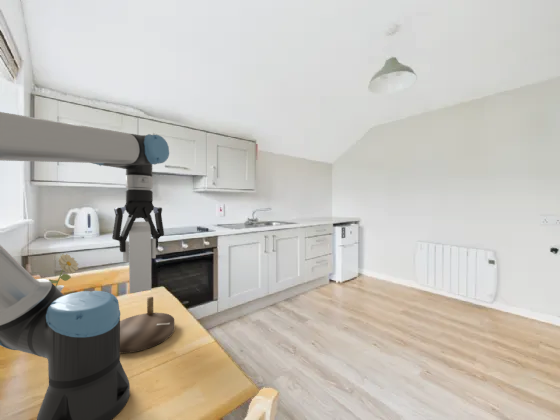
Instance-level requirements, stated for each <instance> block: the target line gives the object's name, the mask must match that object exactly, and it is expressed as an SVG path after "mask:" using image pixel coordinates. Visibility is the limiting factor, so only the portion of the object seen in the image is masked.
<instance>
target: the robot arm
mask: <svg viewBox="0 0 560 420" xmlns="http://www.w3.org/2000/svg"><path fill="white" fill-rule="evenodd" d="M169 147H170V146H169V144H168V142H167V140H166V139H165V138H164V137H163V136H161V135H159V134H150V133H148V134H146V135H141V134H135V133H127V132H124V131H118V130H111V129H105V128H98V127H92V126H86V125H82V124H81V125H80V124H75V123H69V122H64V121H63V122H62V121H56V120H50V119H45V118H39V117H32V116H27V115H21V114H15V113H8V112H2V111H0V161H4V162H5V161H7V162H8V161H9V162H10V161H11V162H43V163H44V162H45V163H46V162H49V163H50V162H51V163H80V164H81V163H82V164H83V163H85V164H86V163H89V164H93V165H97V166H100V167H101V166H104V167H110V168H111V167H113V168H117V169H118V168H119V169H123V170H125V188H126V191H125V204H124V206H123V207H122V206H121V207H115V208H114V209H113V210H114V214H115V217H114V222H113V223H114V224H113V229H112V236H111V237H112V240H115V241H118V243H119V252H121V253H122V261H123V263H126V264H129V240H127V239H128V237H129V231H130V230H131V227H132V225H133V223H134V222H136V220H137V219H143V220H144V222H149V224H150V229H151V259H157V257H156V255H157V253H156V252H157V251H156V250H157V248H159V239H160V238H161V237H163V236H165V230H164V225H163V218H162V212H163V208H162V207H160V206H159V207H156V206H154V204H153V201H154V200H153V195H154V193H153V190H152V189H153V165H159V164H164V163H165V162H166V161H167V160H168V158H169V156H170V149H169ZM125 211H126V212H127V214H128V215H127V218H126V221H125V224H124V226H123V218H124V214H125ZM152 212H153V214H154V220H155V224H154V221H153V218H152V215H151V213H152ZM122 226H123V228H122ZM155 226H156V227H155ZM121 230H122V231H121ZM55 286H56V285H55V284H54V283H51V282H50V281H49V279H47V278H34V276H33V275H32V274H31V273H29V271H28V270H27V269H26V268H24V267H23V265H21V264H20V263H19V262H18V260H16V259H15V258H14V257H13V256H12V255H11V253H9V252H8V251H7V250H6V249H5V248H4V247H3V246H2V245H1V244H0V346H1V347H2V348H5V349H8V350H12V351H20V352H23V353H25V354H26V353H28V354H31V355H34V356H37V357H42V358H44V359H46V360H47V365H48V367H47V368H48V370H47V371H48V373H47V374H48V385H47V389H46V391H45V395H44V397H43V400H42V402H41V406H40V408H39V411H38V414H37V417H36V420H113V419H114V418H115V417H116V416H117V415H118V414H120V412H121V411H122V410H123V409H124V408H125V406H126V404H127V403H128V401H129V398H130V392H131V391H130V389H131V387H130V380H129V378H128V376H127V373H126V371H125V369H124V367H123V364H122V363H121V355H120V354H121V353H120V321H121V310H120V303H119V300H118V298H117V296H116V295H114V294H113V293H111V292H107V291H103V290H93V291H89V290H82V291H76V292H72V293H71V292H70V293H68V294H64V293H62V291H61V292H60V291H59V290H58V289H57V288H56V287H55Z"/></svg>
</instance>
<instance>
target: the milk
mask: <svg viewBox="0 0 560 420" xmlns="http://www.w3.org/2000/svg"><path fill="white" fill-rule="evenodd" d="M128 237H129V238H128V241H129V263H128V265H129V269H128V271H129V273H128V274H129V281H128V282H129V294H135V293H140V292H147V291H152V258H151V238H152V235H151V229H150V224H149V222H145V221H134V223H133V225H132V227H131V230H130V231H129V235H128Z"/></svg>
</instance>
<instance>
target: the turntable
mask: <svg viewBox="0 0 560 420" xmlns="http://www.w3.org/2000/svg"><path fill="white" fill-rule="evenodd" d="M174 332H175V317H174V316H172V315H171V314H168V313H164V312H154V296H148V297H147V298H146V313H141V314H136V315H132V316H130V317H129V316H128V317H126V318H123V319H120V354H127V353H128V354H129V353H134V352H136V353H137V352H140V351H143V350H147V349H150V348H152V347H155V346H157V345H159V344H161V343H162V342H165V341H166V340H167V339H169V338H170V337H172V335H173V333H174Z"/></svg>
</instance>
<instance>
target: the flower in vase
mask: <svg viewBox="0 0 560 420" xmlns="http://www.w3.org/2000/svg"><path fill="white" fill-rule="evenodd" d="M58 265H59V266H60V269H61V271H60V273H59V277H58V279H57V280H54V279H48V280H49V281H50V282H51V283H52V284H55V285H54V286H55V287H56V288H57V289H58V290H59V291H60V292H61V293H62V290H63V289H64V288H65V285H63V284H61V285H58V283H60V282H59V281H60V280H62V281H65V282H67V281H69V280H70V279H71V275H69V274H76V271H79V263H78V262H77V261H76V260H75V257H71V255H70V254H68V253H66V254H64V253H62V255H60V257H59V258H58ZM63 271H64V272H65V273H63ZM68 273H69V274H68Z"/></svg>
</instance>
